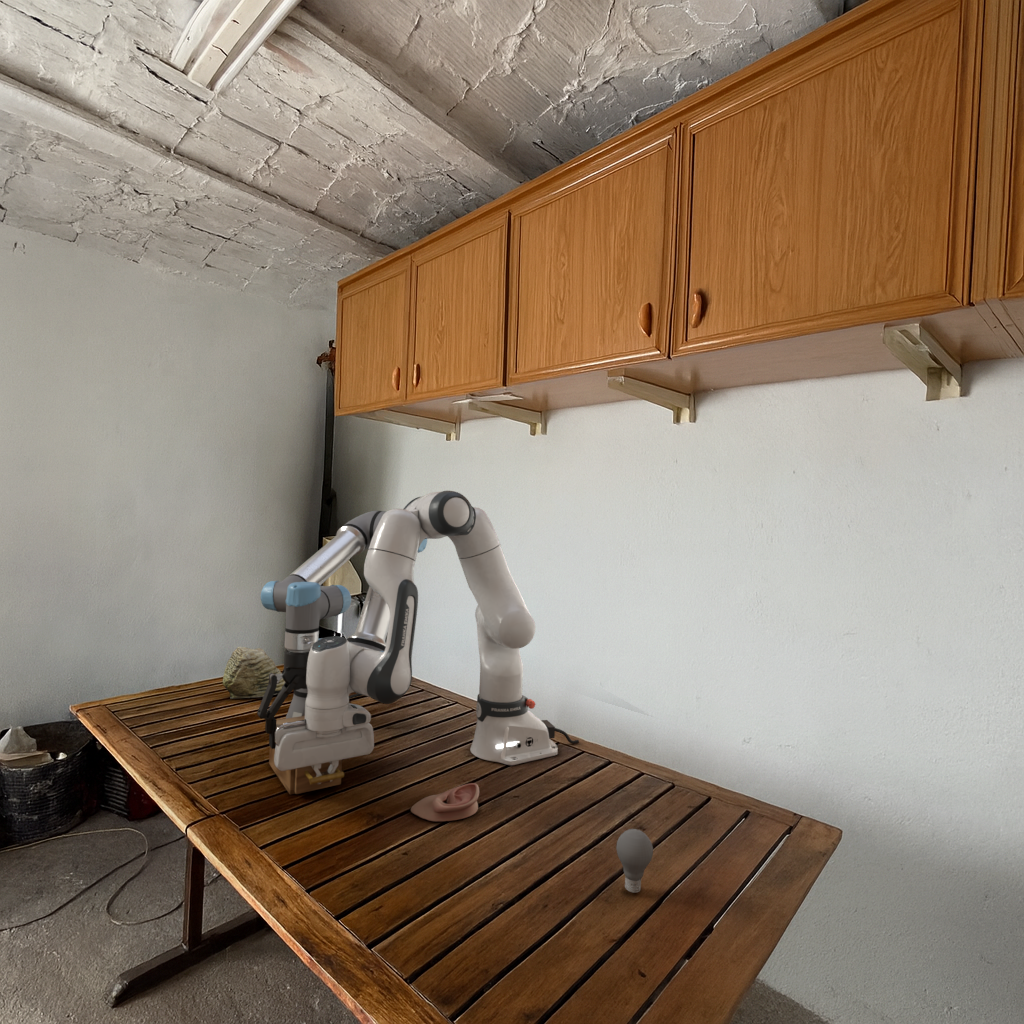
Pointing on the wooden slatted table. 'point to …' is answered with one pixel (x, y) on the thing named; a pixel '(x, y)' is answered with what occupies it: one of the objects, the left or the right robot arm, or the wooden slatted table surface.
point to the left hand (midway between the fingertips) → (297, 742)
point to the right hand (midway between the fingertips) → (324, 781)
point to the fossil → (249, 673)
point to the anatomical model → (449, 804)
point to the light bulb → (634, 857)
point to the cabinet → (288, 775)
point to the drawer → (316, 778)
